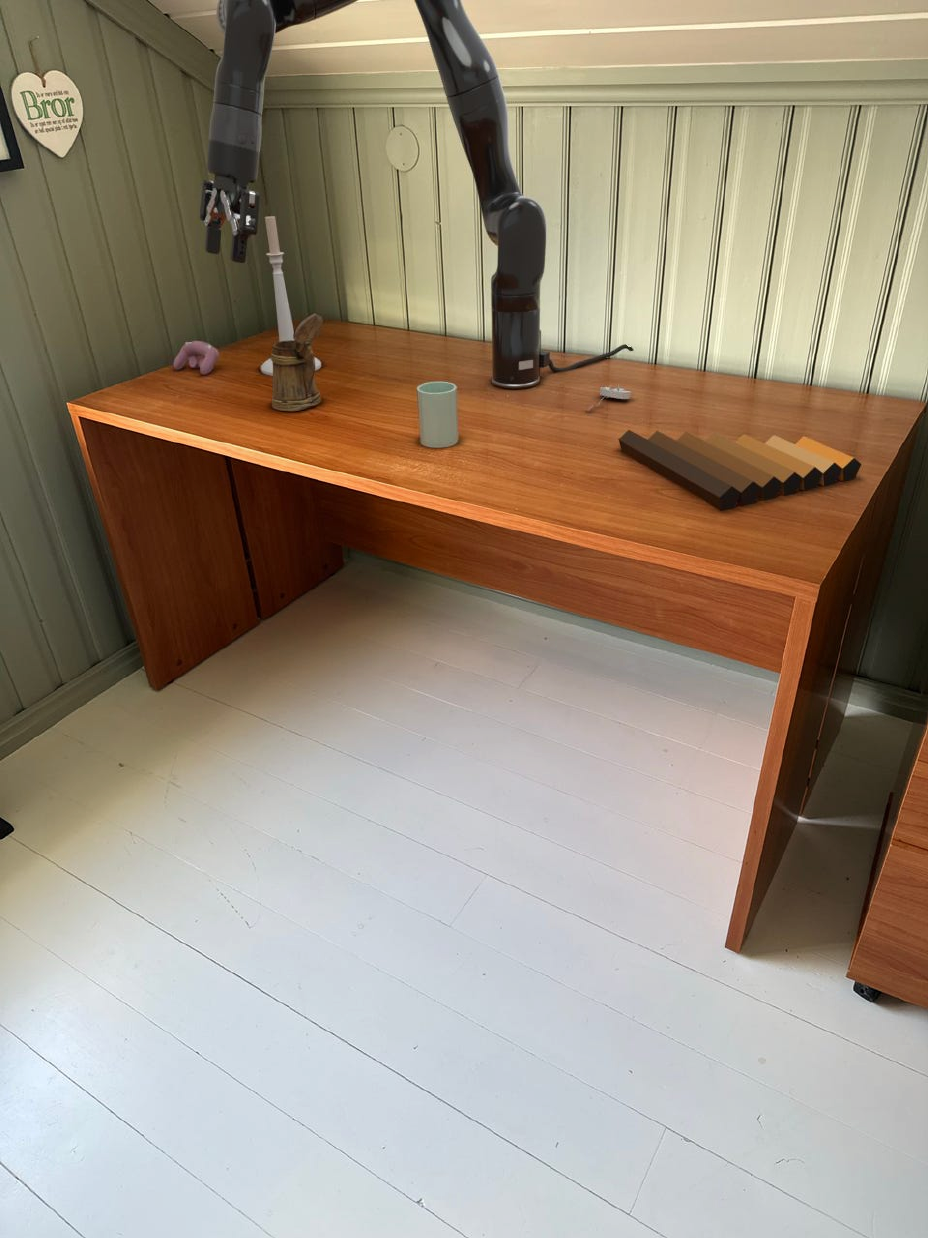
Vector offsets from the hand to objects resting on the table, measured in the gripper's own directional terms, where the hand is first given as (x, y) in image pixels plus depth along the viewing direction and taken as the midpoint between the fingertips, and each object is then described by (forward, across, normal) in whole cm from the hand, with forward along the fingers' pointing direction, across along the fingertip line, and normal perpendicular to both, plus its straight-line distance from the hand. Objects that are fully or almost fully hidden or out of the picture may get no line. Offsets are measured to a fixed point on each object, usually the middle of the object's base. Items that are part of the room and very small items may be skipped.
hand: (224, 257), depth 133 cm
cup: (+20, -30, -26) cm, 44 cm away
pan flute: (+11, -70, -49) cm, 86 cm away
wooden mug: (+24, +2, -20) cm, 31 cm away
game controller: (+11, -37, -58) cm, 70 cm away
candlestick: (+22, +27, -32) cm, 47 cm away
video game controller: (+27, +41, -18) cm, 52 cm away
